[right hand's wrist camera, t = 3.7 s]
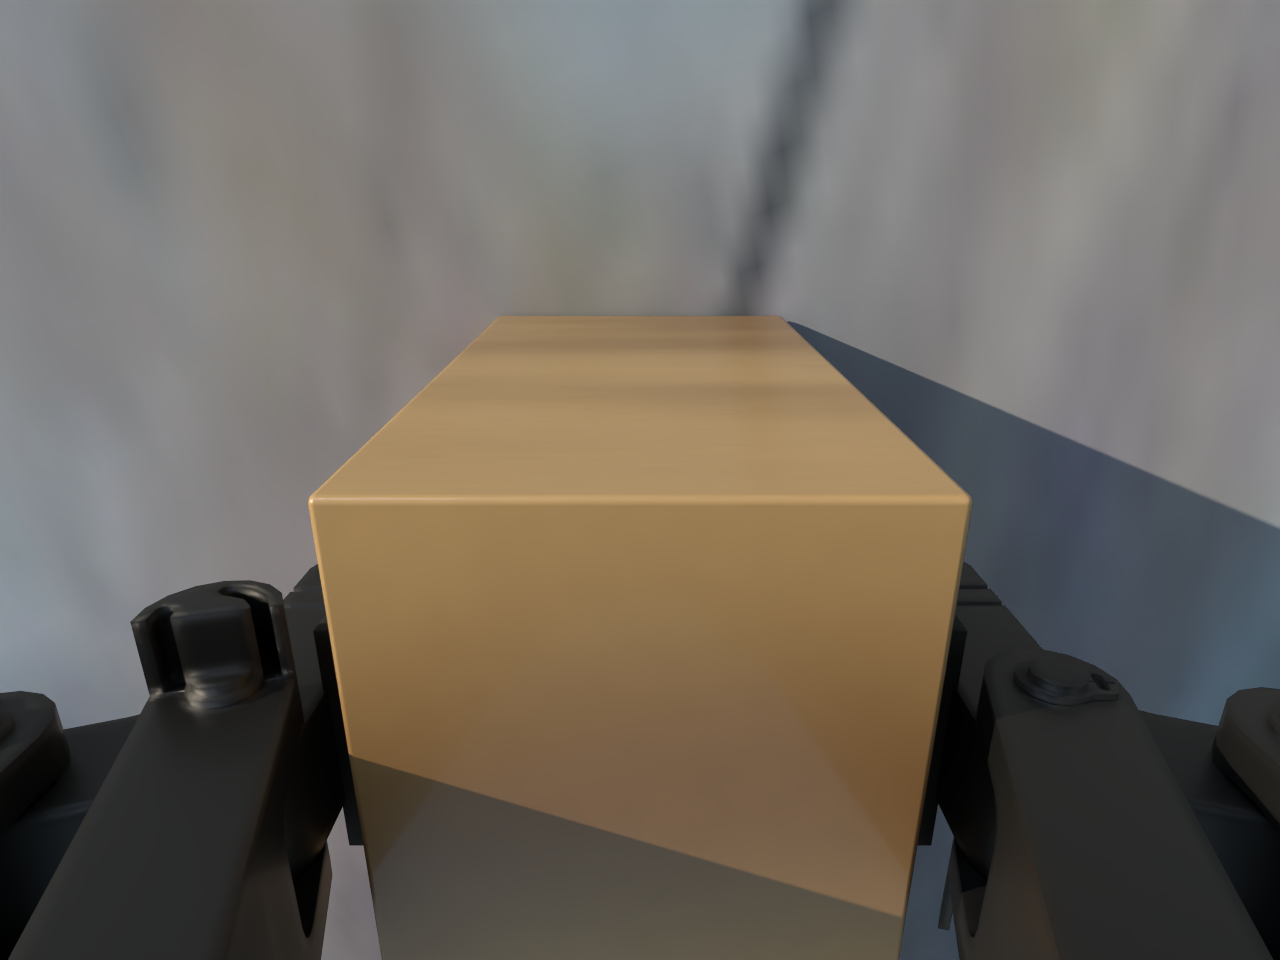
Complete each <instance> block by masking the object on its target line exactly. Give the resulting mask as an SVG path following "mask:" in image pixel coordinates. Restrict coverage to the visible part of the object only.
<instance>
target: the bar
mask: <svg viewBox="0 0 1280 960" xmlns="http://www.w3.org/2000/svg"><path fill="white" fill-rule="evenodd" d="M308 504H309V511H310V517H311V523H312V529H313V536H314V542H315V548H316V554H317V560H318V567H319V573H320V579H321V585H322V591H323V597H324V604H325V610H326V616H327V622H328V628H329V635H330V641H331V647H332V653H333V659H334V665H335V672H336V678H337V684H338V690H339V696H340V703H341V709H342V715H343V721H344V727H345V733H346V740H347V746H348V752H349V758H350V764H351V770H352V777H353V783H354V789H355V795H356V801H357V808H358V814H359V820H360V826H361V832H362V838H363V845H364V851H365V857H366V863H367V869H368V876H369V882H370V888H371V894H372V900H373V906H374V913H375V919H376V925H377V931H378V937H379V944H380V950H381V956H382V960H899V955H900V949H901V942H902V936H903V930H904V924H905V918H906V912H907V905H908V899H909V893H910V887H911V881H912V875H913V868H914V862H915V856H916V850H917V844H918V838H919V832H920V825H921V819H922V813H923V807H924V801H925V795H926V788H927V782H928V776H929V770H930V764H931V758H932V751H933V745H934V739H935V733H936V727H937V721H938V714H939V708H940V702H941V696H942V690H943V684H944V677H945V671H946V665H947V659H948V653H949V647H950V640H951V634H952V628H953V622H954V616H955V610H956V604H957V597H958V591H959V585H960V579H961V573H962V567H963V560H964V554H965V548H966V542H967V536H968V530H969V523H970V517H971V511H972V505H973V502H972V498H971V496H970V495H969V494H968V493H967V492H966V491H965V490H964V489H963V488H962V487H960V486H959V485H958V484H957V483H956V482H955V481H954V480H953V479H952V478H951V477H950V476H949V475H948V474H947V473H946V472H945V471H944V470H943V469H941V468H940V467H939V466H938V465H937V464H936V463H935V462H934V461H933V460H932V459H931V458H930V457H929V456H928V455H927V454H926V453H925V452H924V451H922V450H921V449H920V448H919V447H918V446H917V445H916V444H915V443H914V442H913V441H912V440H911V439H910V438H909V437H908V436H907V435H906V434H905V433H903V432H902V431H901V430H900V429H899V428H898V427H897V426H896V425H895V424H894V423H893V422H892V421H891V420H890V419H889V418H888V417H887V416H885V415H884V414H883V413H882V412H881V411H880V410H879V409H878V408H877V407H876V406H875V405H874V404H873V403H872V402H871V401H870V400H869V399H868V398H866V397H865V396H864V395H863V394H862V393H861V392H860V391H859V390H858V389H857V388H856V387H855V386H854V385H853V384H852V383H851V382H850V381H849V380H847V379H846V378H845V377H844V376H843V375H842V374H841V373H840V372H839V371H838V370H837V369H836V368H835V367H834V366H833V365H832V364H831V363H830V362H828V361H827V360H826V359H825V358H824V357H823V356H822V355H821V354H820V353H819V352H818V351H817V350H816V349H815V348H814V347H813V346H812V345H811V344H809V343H808V342H807V341H806V340H805V339H804V338H803V337H802V336H801V335H800V334H799V333H798V332H797V331H796V330H795V329H794V328H793V327H792V326H790V325H789V324H788V323H787V322H786V321H785V320H784V319H783V318H782V317H780V316H500V317H498V318H497V319H496V320H495V321H494V322H493V323H492V324H491V325H490V326H489V327H488V328H487V329H486V330H485V331H484V332H483V333H482V334H480V335H479V336H478V337H477V338H476V339H475V340H474V341H473V342H472V343H471V344H470V345H469V346H468V347H467V348H466V349H465V350H464V351H463V352H462V353H460V354H459V355H458V356H457V357H456V358H455V359H454V360H453V361H452V362H451V363H450V364H449V365H448V366H447V367H446V368H445V369H444V370H443V371H442V372H440V373H439V374H438V375H437V376H436V377H435V378H434V379H433V380H432V381H431V382H430V383H429V384H428V385H427V386H426V387H425V388H424V389H423V390H422V391H420V392H419V393H418V394H417V395H416V396H415V397H414V398H413V399H412V400H411V401H410V402H409V403H408V404H407V405H406V406H405V407H404V408H403V409H402V410H401V411H399V412H398V413H397V414H396V415H395V416H394V417H393V418H392V419H391V420H390V421H389V422H388V423H387V424H386V425H385V426H384V427H383V428H382V429H381V430H379V431H378V432H377V433H376V434H375V435H374V436H373V437H372V438H371V439H370V440H369V441H368V442H367V443H366V444H365V445H364V446H363V447H362V448H361V449H359V450H358V451H357V452H356V453H355V454H354V455H353V456H352V457H351V458H350V459H349V460H348V461H347V462H346V463H345V464H344V465H343V466H342V467H341V468H339V469H338V470H337V471H336V472H335V473H334V474H333V475H332V476H331V477H330V478H329V479H328V480H327V481H326V482H325V483H324V484H323V485H322V486H321V487H320V488H318V489H317V490H316V491H315V492H314V493H313V494H312V495H311V496H310V499H309V502H308Z"/></svg>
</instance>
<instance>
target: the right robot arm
mask: <svg viewBox="0 0 1280 960" xmlns="http://www.w3.org/2000/svg"><path fill="white" fill-rule="evenodd" d="M131 626H132V630H133V634H134V637H135V641H136V645H137V649H138V653H139V656H140V660H141V664H142V668H143V672H144V675H145V679H146V683H147V687H148V690H149V694H150V697H149V699H148V701H147V703H146V705H145V706H144V708H143V710H142V712H141V714H140V715H136V716H132V717H127V718H122V719H117V720H112V721H106V722H101V723H96V724H91V725H85V726H80V727H75V728H69V729H64V730H63V727H62V724H61V721H60V717H59V714H58V711H57V708H56V705H55V703H54V702H53V701H52V700H50V699H49V698H48V697H46V696H45V695H44V694H39V693H32V692H24V691H16V692H7V693H0V960H321V954H322V947H323V939H324V932H325V925H326V917H327V910H328V903H329V896H330V888H331V881H332V869H331V861H330V855H329V850H328V844H327V838H328V836H329V834H330V832H331V830H332V828H333V826H334V823H335V821H336V819H337V817H338V815H339V813H340V811H341V809H342V807H343V810H344V816H345V821H346V827H347V833H348V839H349V845H363V838H362V832H361V826H360V820H359V814H358V808H357V801H356V795H355V789H354V783H353V777H352V770H351V764H350V758H349V752H348V746H347V740H346V733H345V727H344V721H343V715H342V709H341V703H340V696H339V690H338V684H337V678H336V672H335V665H334V659H333V653H332V647H331V641H330V635H329V628H328V622H327V616H326V610H325V604H324V597H323V591H322V585H321V579H320V573H319V567H318V564H317V565H316V566H314V567H312V568H311V569H310V570H309V571H308V572H307V573H306V574H305V575H304V577H303V578H302V579H301V580H300V581H299V582H298V584H297V585H296V586H295V587H294V592H290V593H289V594H288V595H287V597H286V598H285V599H284V600H283V598H282V593H281V592H280V591H278V590H277V589H276V588H274V587H273V586H271V585H270V584H265V583H260V582H255V581H250V580H249V581H222V582H217V583H211V584H206V585H200V586H195V587H192V588H189V589H186V590H183V591H181V592H178V593H175V594H172V595H169V596H167V597H165V598H163V599H161V600H159V601H157V602H155V603H154V604H152V605H150V606H148V607H146V608H145V609H144V610H143V611H142V612H140V613H139V614H138V615H137V616H136V617H135V618H134V619H133V620H132V621H131ZM938 804H939V806H940V808H941V810H942V812H943V814H944V816H945V818H946V820H947V822H948V824H949V826H950V829H951V831H952V833H953V835H954V839H953V844H952V850H951V855H950V861H949V866H948V872H947V877H946V883H945V888H944V893H943V899H942V904H941V910H940V917H939V924H938V928H940V929H945V930H949V928H950V922H951V917H952V913H953V916H954V923H955V930H956V938H957V945H958V952H959V959H960V960H1280V689H1272V688H1263V687H1260V688H1253V689H1245V690H1239V691H1237V692H1236V693H1235V694H1233V695H1232V696H1231V697H1229V698H1228V699H1227V701H1226V704H1225V707H1224V710H1223V713H1222V717H1221V720H1220V723H1219V726H1215V725H1210V724H1204V723H1199V722H1194V721H1188V720H1183V719H1178V718H1172V717H1167V716H1162V715H1157V714H1152V713H1148V712H1144V711H1140V710H1138V709H1137V707H1136V705H1135V703H1134V701H1133V699H1132V698H1131V696H1130V694H1129V693H1128V692H1127V691H1126V690H1125V689H1124V688H1123V686H1122V685H1121V684H1120V683H1119V682H1118V681H1117V680H1116V679H1115V678H1113V677H1112V676H1110V675H1109V674H1107V673H1106V672H1104V671H1102V670H1101V669H1099V668H1098V667H1096V666H1095V665H1092V664H1090V663H1087V662H1085V661H1082V660H1080V659H1077V658H1075V657H1072V656H1070V655H1066V654H1061V653H1057V652H1052V651H1047V650H1043V649H1042V648H1041V647H1040V646H1039V645H1038V643H1037V642H1036V641H1035V640H1034V639H1033V638H1032V637H1031V635H1030V634H1029V633H1028V632H1027V631H1026V630H1025V628H1024V627H1023V626H1022V625H1021V624H1020V623H1019V621H1018V620H1017V619H1016V618H1015V617H1014V616H1013V614H1012V613H1011V612H1010V611H1009V610H1008V609H1007V608H1006V606H1002V605H1001V601H1000V599H999V598H998V597H997V596H996V595H995V594H994V592H993V591H992V590H991V589H988V588H987V584H986V583H985V582H984V581H983V580H982V578H981V577H980V576H979V575H978V574H977V573H976V572H975V570H974V569H973V568H972V567H971V566H970V565H968V564H966V563H965V562H963V567H962V573H961V579H960V585H959V591H958V597H957V604H956V610H955V616H954V622H953V628H952V634H951V640H950V647H949V653H948V659H947V665H946V671H945V677H944V684H943V690H942V696H941V702H940V708H939V714H938V721H937V727H936V733H935V739H934V745H933V751H932V758H931V764H930V770H929V776H928V782H927V788H926V795H925V801H924V807H923V813H922V819H921V825H920V832H919V838H918V844H917V845H931V842H932V836H933V831H934V825H935V819H936V813H937V807H938Z"/></svg>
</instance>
